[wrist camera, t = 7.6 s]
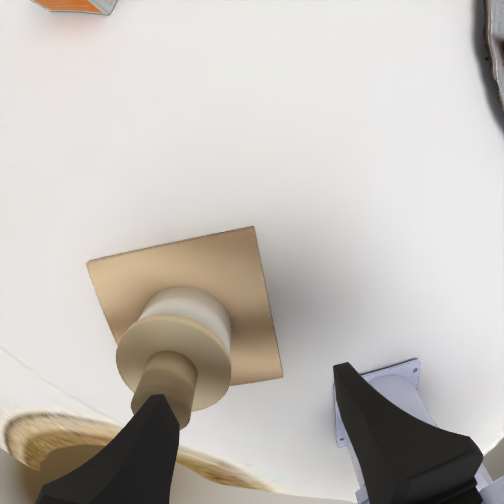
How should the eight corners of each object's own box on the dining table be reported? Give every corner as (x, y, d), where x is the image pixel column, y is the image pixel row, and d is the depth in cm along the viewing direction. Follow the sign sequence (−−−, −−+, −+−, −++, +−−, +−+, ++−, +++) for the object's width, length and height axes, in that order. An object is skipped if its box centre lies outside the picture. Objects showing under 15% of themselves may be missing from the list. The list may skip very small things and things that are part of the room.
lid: (240, 399, 19) (239, 450, 15) (140, 404, 19) (124, 450, 15) (219, 307, 17) (212, 353, 13) (105, 318, 17) (75, 360, 13)
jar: (240, 356, 23) (239, 397, 19) (159, 366, 23) (146, 405, 19) (219, 277, 21) (213, 310, 17) (131, 293, 21) (108, 326, 17)
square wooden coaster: (282, 372, 24) (283, 377, 24) (142, 389, 25) (141, 394, 24) (253, 226, 21) (253, 228, 20) (89, 260, 21) (85, 263, 21)
